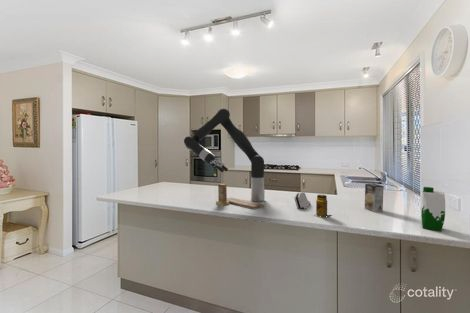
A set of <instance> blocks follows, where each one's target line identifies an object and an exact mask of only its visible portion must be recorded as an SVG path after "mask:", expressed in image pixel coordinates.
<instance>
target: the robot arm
mask: <svg viewBox="0 0 470 313" xmlns="http://www.w3.org/2000/svg"><path fill="white" fill-rule="evenodd" d="M230 115H231V114H230V110H229V109H227V108H221V109H218V110H217V112H216V113H215V115H214V116H212V118H210V120H208V121H207V122H206V123H204V124H203V125H202V126H200V127H199V128H198V129H197V130H196V131H194V133H193V136H186V137H184V139H183V142H184V145H185V147H186V148H187V149H188V150H192V151H193V153H194V154H195V155H197V156H198V157H199V158H200V159H201V160H202V161H203V162H205V163H206V164H207V165H210V166H212V167H213V168H214V169H217V171H219V172H221V173H223V172H224V171H225V172H228V170H229V168H227V167H226V166H225V163H223V162H222V161H220V160H219V159H217V158H216V155H215V154H214V153H212V152H211V151H210V150H208V149H207V148H205V147H204V146H203V145H201V144H200V142H201V141H202V140H203V139H204V138H205V137H206V136H209V134H210V133H211V132H212V131H213V130H214V129H215V128H216V127H217V126H219V125H221V126H222V127H223V128H224V129H225V130H226V132H227V133H228V135H229V136H230V138H231V139H232V141H233V142H234V144H236V146H237V147H238V149H240V150H241V152H243V153H244V154H245V155H246V157H247V158H248V160H249V161H250V163H251V165H250V167H251V168H250V170H251V171H250V172H251V173H250V174H251V175H250V176H251V177H250V178H251V180H250V183H251V187H250V189H251V192H250V193H251V194H250V200H251V202H256V203H259V202H264V201H265V177H264V176H265V160H264V157H262V156H261V155H260V154H259V152H257V151H256V150H255V148H254V147H253V145H252V143H251V141H250V140H249V138H248V137H247V136H246V134H245V133H244V132H243V131H242V130H241V129H240V128H239V127H237V126H236V125H235V124H234V123H233V122H232V120H231V118H230V117H231V116H230Z"/></svg>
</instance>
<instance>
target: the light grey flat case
mask: <svg viewBox="0 0 470 313" xmlns="http://www.w3.org/2000/svg"><path fill="white" fill-rule="evenodd" d="M293 198H294V202H295V206H296V209H301V208H303V209H304V210H306V209H307V208H308V207H309V206H310V205H311V201H309V200H308V197H307V195H306V193H305V192H304V191H301V192H298V193H296V194H295V195H294V197H293ZM309 204H310V205H309ZM308 205H309V206H308ZM307 206H308V207H307ZM306 207H307V208H306ZM305 208H306V209H305Z"/></svg>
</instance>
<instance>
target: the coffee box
mask: <svg viewBox="0 0 470 313" xmlns="http://www.w3.org/2000/svg"><path fill="white" fill-rule="evenodd" d="M364 187H365V189H364V209H365V210H368V211H369V212H370V211H371V212H373V213H383V211H384V210H383V209H384V189H385V188H384V185H380V184H376V183H365V184H364Z"/></svg>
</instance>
